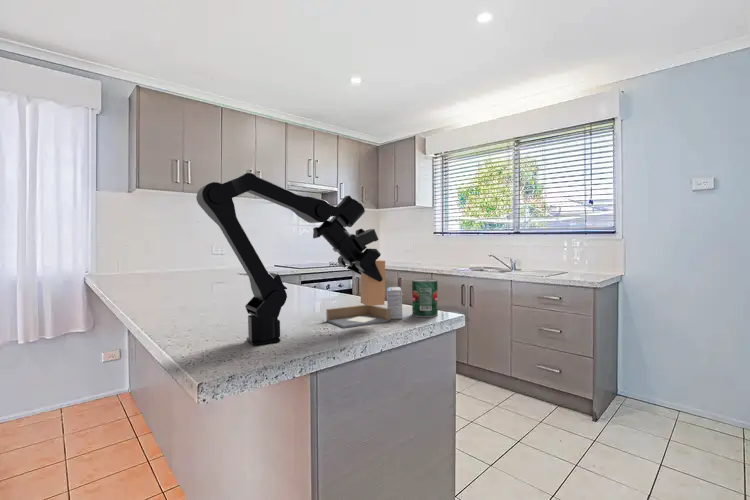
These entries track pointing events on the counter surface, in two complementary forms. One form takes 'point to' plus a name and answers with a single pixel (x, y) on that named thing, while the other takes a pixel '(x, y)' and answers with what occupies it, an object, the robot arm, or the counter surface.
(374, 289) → the terracotta block
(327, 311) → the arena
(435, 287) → the canned tomato
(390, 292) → the medicine box
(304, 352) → the counter surface
